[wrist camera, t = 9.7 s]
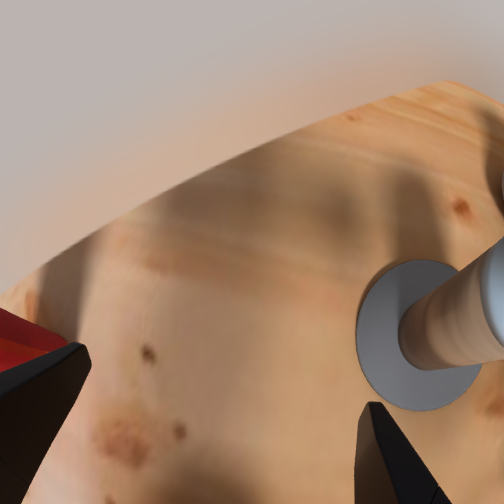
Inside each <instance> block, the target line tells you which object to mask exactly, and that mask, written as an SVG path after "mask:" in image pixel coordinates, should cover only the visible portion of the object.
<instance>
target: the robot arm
mask: <svg viewBox="0 0 504 504" xmlns="http://www.w3.org/2000/svg"><path fill="white" fill-rule="evenodd" d="M91 366H92V363H91V359H90V356H89V353H88V350H87V347H86V346H85V345H84V344H81V343H79V342H73V343H70V344H68V345H66V346H63V347H61V348H58V349H56V350H54V351H51V352H49V353H46V354H44V355H41V356H39V357H37V358H34V359H32V360H29V361H27V362H24V363H22V364H20V365H17V366H15V367H12V368H10V369H7V370H5V371H2V372H0V504H21V503H22V501H23V499H24V497H25V495H26V492H27V490H28V488H29V486H30V484H31V482H32V480H33V478H34V476H35V474H36V472H37V470H38V468H39V466H40V465H41V463H42V461H43V459H44V457H45V455H46V453H47V451H48V450H49V448H50V446H51V444H52V442H53V440H54V439H55V437H56V435H57V433H58V431H59V430H60V428H61V426H62V424H63V423H64V421H65V419H66V417H67V416H68V414H69V412H70V411H71V409H72V407H73V405H74V403H75V402H76V400H77V397H78V395H79V393H80V391H81V389H82V387H83V384H84V382H85V380H86V378H87V376H88V374H89V372H90V370H91ZM354 491H355V504H452V503H451V502H450V500H449V499H448V497H447V496H446V495H445V493H444V492H443V490H442V489H441V487H440V486H438V483H437V482H436V480H435V479H434V477H433V476H432V474H431V473H430V471H429V470H428V468H427V467H426V465H425V464H424V462H423V461H422V460H421V458H420V457H419V455H418V454H417V452H416V451H415V449H414V448H413V447H412V445H411V444H410V442H409V441H408V439H407V438H406V436H405V435H404V434H403V432H402V431H401V429H400V428H399V426H398V425H397V424H396V422H395V421H394V419H393V418H392V416H391V415H390V414H389V412H388V411H387V409H386V408H385V406H384V405H383V404H382V403H381V402H372V401H370V402H368V403H367V404H366V405H365V408H364V410H363V412H362V414H361V416H360V418H359V421H358V431H357V444H356V455H355V466H354Z"/></svg>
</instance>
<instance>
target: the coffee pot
mask: <svg viewBox="0 0 504 504" xmlns="http://www.w3.org/2000/svg"><path fill="white" fill-rule="evenodd" d="M502 193H503V199H504V170H503V176H502Z"/></svg>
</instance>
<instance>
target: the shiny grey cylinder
mask: <svg viewBox="0 0 504 504" xmlns="http://www.w3.org/2000/svg"><path fill="white" fill-rule="evenodd" d="M398 344H399V348H400V351H401V353H402V355H403V356H404V358H405V359H406V361H407V362H408V363H409V364H411V365H412V366H413V367H415V368H417V369H420V370H424V371H431V370H440V369H448V368H455V367H462V366H468V365H475V364H481V363H486V362H492V361H497V360H502V359H504V237H503V238H502V239H500V240H499V241H498V242H497V243H495V244H494V245H493V246H492V247H491V248H489V249H488V250H487V251H486V252H484V253H483V254H482V255H481V256H479V257H478V258H477V259H475V260H474V261H473V262H472V263H470V264H469V265H468V266H466V267H465V268H464V269H462V270H461V271H460V272H458V273H457V274H455V275H454V276H453V277H451V278H450V279H449V280H447V281H446V282H444V283H443V284H441V285H440V286H439V287H437V288H436V289H434V290H433V291H431V292H430V293H428V294H427V295H425V296H424V297H422V298H421V299H419V300H418V301H416V302H415V303H413V304H412V305H411V306H410V307H409V308H408V309H407V310H406V311H405V312H404V314H403V316H402V317H401V320H400V323H399V326H398Z"/></svg>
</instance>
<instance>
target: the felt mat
mask: <svg viewBox="0 0 504 504" xmlns="http://www.w3.org/2000/svg"><path fill="white" fill-rule="evenodd" d="M457 273H458V271H456V270H455V269H453V268H452V267H450V266H448V265H446V264H443V263H440V262H437V261H432V260H413V261H409V262H405V263H402V264H400V265H398V266H396V267H394V268H392V269H391V270H389V271H388V272H387V273H385V274H384V275H383V276H382V277H381V278H380V279H379V280H378V281H377V282H376V283H375V284H374V285H373V287H372V288H371V290H370V291H369V292H368V294H367V296H366V298H365V299H364V301H363V304H362V306H361V309H360V312H359V316H358V319H357V326H356V351H357V355H358V360H359V363H360V366H361V369H362V371H363V373H364V375H365V377H366V379H367V381H368V382H369V384H370V385H371V387H372V388H373V389H374V390H375V391H376V392H377V393H378V394H379V395H380V396H381V397H382V398H383V399H385V400H386V401H387V402H389V403H391V404H393V405H395V406H397V407H400V408H403V409H408V410H413V411H429V410H434V409H438V408H441V407H443V406H445V405H448V404H450V403H451V402H453V401H454V400H456V399H457V398H458V397H460V396H461V395H462V394H463V393H464V392H465V391H466V390H467V389H468V388H469V387H470V385H471V384H472V383H473V381H474V380H475V378H476V376H477V375H478V373H479V371H480V368H481V366H482V364H483V363H481V364H475V365H468V366H462V367H455V368H448V369H440V370H431V371H424V370H420V369H417V368H415V367H413V366H412V365H411V364H409V363H408V362H407V361H406V359H405V358H404V356H403V355H402V353H401V351H400V348H399V344H398V326H399V323H400V320H401V317H402V316H403V314H404V312H405V311H406V310H407V309H408V308H409V307H410V306H411V305H412V304H413V303H415V302H416V301H418V300H419V299H421V298H422V297H424V296H425V295H427V294H428V293H430V292H431V291H433V290H434V289H436V288H437V287H439V286H440V285H441V284H443V283H444V282H446V281H447V280H449V279H450V278H451V277H453V276H454V275H455V274H457Z"/></svg>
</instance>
